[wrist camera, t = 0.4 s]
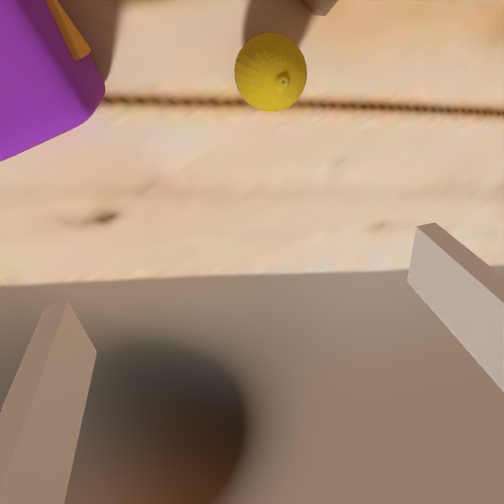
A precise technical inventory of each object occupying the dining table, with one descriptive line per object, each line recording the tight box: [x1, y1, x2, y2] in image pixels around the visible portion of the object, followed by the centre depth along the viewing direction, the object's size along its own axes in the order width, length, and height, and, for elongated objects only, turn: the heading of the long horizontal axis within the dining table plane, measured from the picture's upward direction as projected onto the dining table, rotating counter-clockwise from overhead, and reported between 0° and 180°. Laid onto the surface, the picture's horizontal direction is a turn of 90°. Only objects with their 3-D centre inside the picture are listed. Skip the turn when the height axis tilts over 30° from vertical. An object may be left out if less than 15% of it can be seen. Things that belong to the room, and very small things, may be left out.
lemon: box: [235, 33, 307, 112], centre depth 28 cm, size 6×6×8 cm
